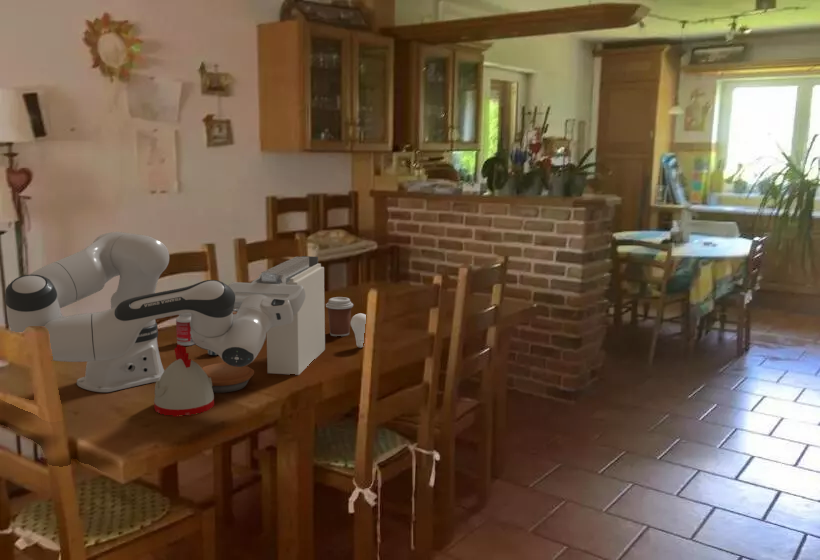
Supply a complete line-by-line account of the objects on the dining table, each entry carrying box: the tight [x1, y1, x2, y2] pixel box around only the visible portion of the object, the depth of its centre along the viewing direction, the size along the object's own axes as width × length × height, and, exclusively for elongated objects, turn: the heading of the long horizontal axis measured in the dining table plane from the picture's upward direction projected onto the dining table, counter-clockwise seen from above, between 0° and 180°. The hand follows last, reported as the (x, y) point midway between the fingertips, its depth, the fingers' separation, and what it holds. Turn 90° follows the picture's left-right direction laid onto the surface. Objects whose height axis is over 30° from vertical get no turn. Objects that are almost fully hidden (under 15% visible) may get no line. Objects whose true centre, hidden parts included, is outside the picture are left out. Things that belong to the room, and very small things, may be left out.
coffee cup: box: [325, 296, 354, 337], centre depth 247 cm, size 9×9×12 cm
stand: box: [266, 255, 326, 376], centre depth 215 cm, size 27×9×29 cm, turn 170°
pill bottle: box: [175, 313, 196, 347], centre depth 233 cm, size 6×6×11 cm
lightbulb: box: [350, 312, 367, 349], centre depth 231 cm, size 6×6×11 cm
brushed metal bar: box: [261, 256, 309, 284], centre depth 204 cm, size 28×4×4 cm, turn 170°
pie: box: [201, 362, 255, 394], centre depth 194 cm, size 15×16×5 cm
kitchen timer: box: [153, 344, 215, 417], centre depth 178 cm, size 14×14×15 cm
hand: (273, 276), depth 194 cm, fingers closed on brushed metal bar, 4 cm apart
